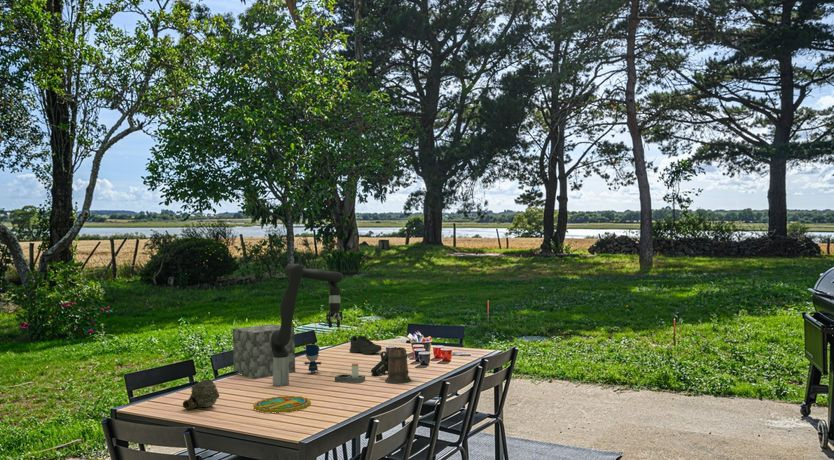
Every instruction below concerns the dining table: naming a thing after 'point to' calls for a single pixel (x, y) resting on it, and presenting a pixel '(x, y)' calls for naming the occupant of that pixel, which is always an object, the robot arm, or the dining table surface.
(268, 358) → the block
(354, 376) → the two-tone square post
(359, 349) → the running shoe
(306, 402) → the decorative plaque
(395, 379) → the tankard
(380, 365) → the toy gun
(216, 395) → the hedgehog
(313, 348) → the figurine
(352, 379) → the divided rectangular frame
